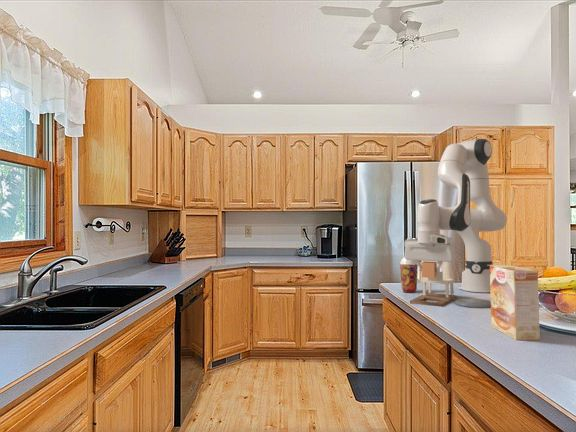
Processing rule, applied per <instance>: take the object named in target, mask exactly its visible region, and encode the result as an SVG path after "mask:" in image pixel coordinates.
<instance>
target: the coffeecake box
mask: <svg viewBox="0 0 576 432" xmlns="http://www.w3.org/2000/svg"><path fill="white" fill-rule="evenodd" d="M490 291H491V292H490V301H491V307H490V315H491V316H490V318H491V319H490V320H491V325H490V327H491V328H492V329H495V330H496V331H499V332H501V333H502V334H504V335H506V336H508V337H510V338H511V339H513V340H515V341H529V340H531V341H540V339H541V335H540V334H541V333H540V307H539V306H540V304H539V303H540V302H539V298H540V296H539V270H536V269H535V270H534V269H531V268H527V267H520V266H516V265H513V264H512V265H511V264H504V265H503V264H493V265H490Z"/></svg>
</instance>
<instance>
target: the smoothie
mask: <svg viewBox="0 0 576 432" xmlns="http://www.w3.org/2000/svg"><path fill="white" fill-rule="evenodd" d="M418 268H419V267H418V265H417V263H416V260H406V259H405V257H404V256H403V257H402V259H401V260H400V262H399V271H400V283H401V290H402V292H404V293H406V294H413V293H414V292H415V293H416V291H417V289H418Z"/></svg>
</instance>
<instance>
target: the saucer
mask: <svg viewBox="0 0 576 432" xmlns="http://www.w3.org/2000/svg"><path fill="white" fill-rule="evenodd" d="M454 305H456V306H459V307H462V308H469V309H470V308H471V309H489V308H490V309H491V300H486V299H481V298H480V299H479V298H478V299H477V298H460V299H459V298H458V299H454Z"/></svg>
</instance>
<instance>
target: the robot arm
mask: <svg viewBox="0 0 576 432" xmlns="http://www.w3.org/2000/svg"><path fill="white" fill-rule="evenodd" d="M492 152H493V148H492V144H491V142H490V141H489V140H488V139H486V138H477V139H469V140H465V141H460V142H457V143H450V144H448V145H447V146H446V147H444V149H443V150H442V155H441V158H440V160H439V164H438V169H437V177H438V179H439V181H441V182H442V184H444V185H446V186H448V187H452V188H453V189H456V190H457V204H456V205H455V206H450V207H449V206H447V207H445V206H444V207H443V206H441V205H439V202H438V200H437V199H431V198H430V199H423V200H421V201H419V202H418V205H417V210H416V211H417V214H416V220H417V225H418V228H417V237H416V238H414V237H413V238H411V237H408V238H407V239H405V240H404V242H403V243H404V256H403V257H405V259H406V260H416V263H417V265H418V267H417V268H418V272H422V261H423V262H424V261H426V262H437V268H435V272H441V266H442V265H443V263H447V262H448V263H452V262H454V261H455V260H456V249H455V247H454V244H453V243H452V242H453V239H452V237H450V236H448V235H444V234H441V231H442V230H443V231H454V232H456V233H457V234H458V235H459V236H460V238H461V239H462V240H463V243H464V249H465V261H464V265H465V269H464V270H463V271H462V272H461V285H460V286H458V289H459V290H462V291H465V292H472V293H491V291H490V265H494V263H493V261H492V246H491V244H490V242H489V241H487V240H485V239H483V238H481V237H480V235H479V232H480V233H481V232H484V233H485V232H487V233H488V232H497V231H501V230H503V229H504V228H505V227H506V225H507V221H508V219H507V214H506V213H505V212H504V211H503V209H500V208H499V207H498V206H497V205H496V204H495V202H494V201H493V198H492V195H491V191H490V189H491V188H490V175H489V167H488V164H487V163H488V161H489V160H490V159H491V156H492V154H493V153H492ZM471 202H472V203H474V204H475V205H476V208H471Z"/></svg>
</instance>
